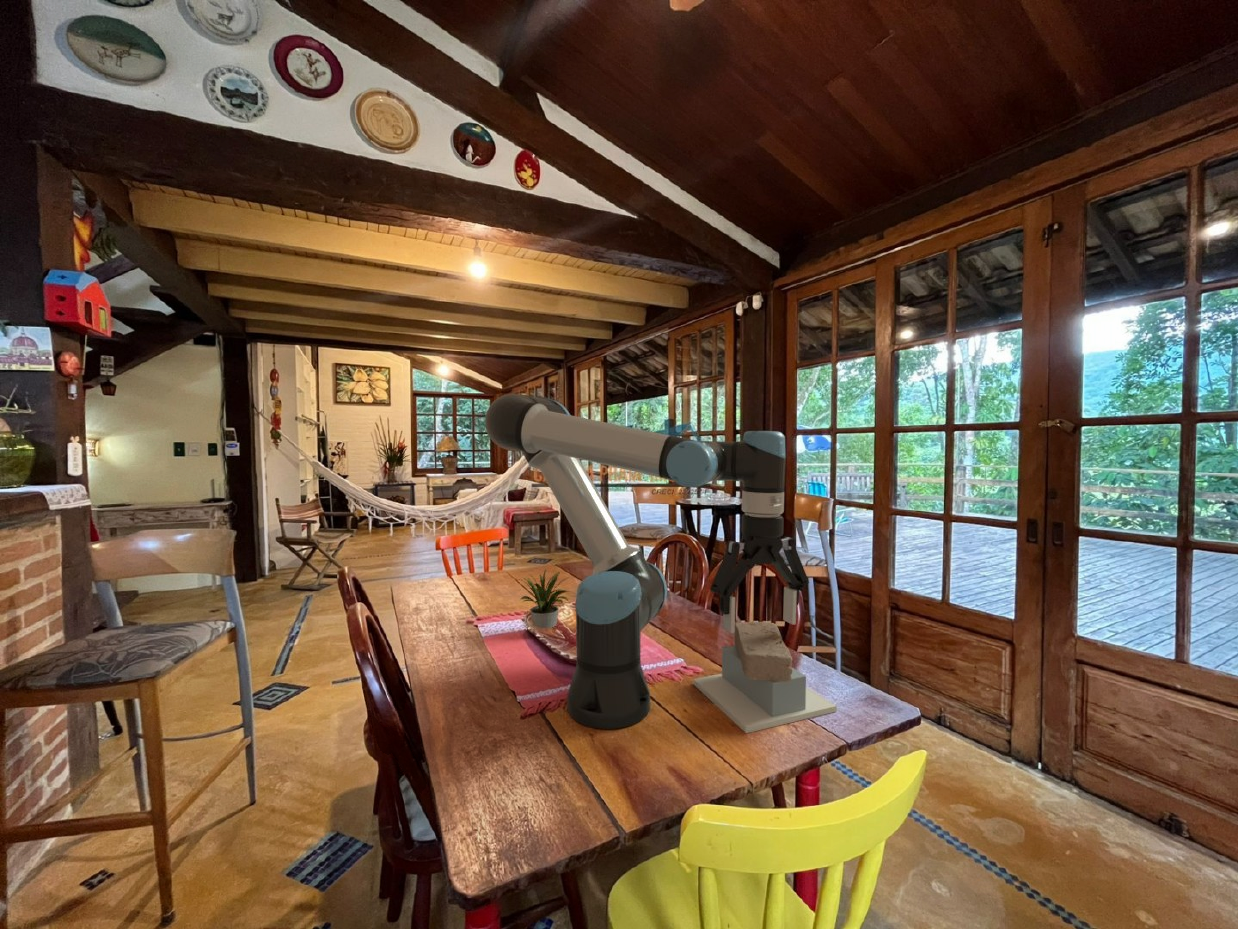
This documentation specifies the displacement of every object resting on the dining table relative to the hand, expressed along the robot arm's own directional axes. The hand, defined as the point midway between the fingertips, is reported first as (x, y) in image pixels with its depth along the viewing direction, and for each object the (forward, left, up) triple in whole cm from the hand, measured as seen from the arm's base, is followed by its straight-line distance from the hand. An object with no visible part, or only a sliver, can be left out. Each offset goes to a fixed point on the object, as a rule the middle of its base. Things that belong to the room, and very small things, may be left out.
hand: (759, 626), depth 94 cm
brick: (0, 0, -7) cm, 7 cm away
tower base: (0, 0, -14) cm, 14 cm away
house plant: (-33, +45, -14) cm, 57 cm away
